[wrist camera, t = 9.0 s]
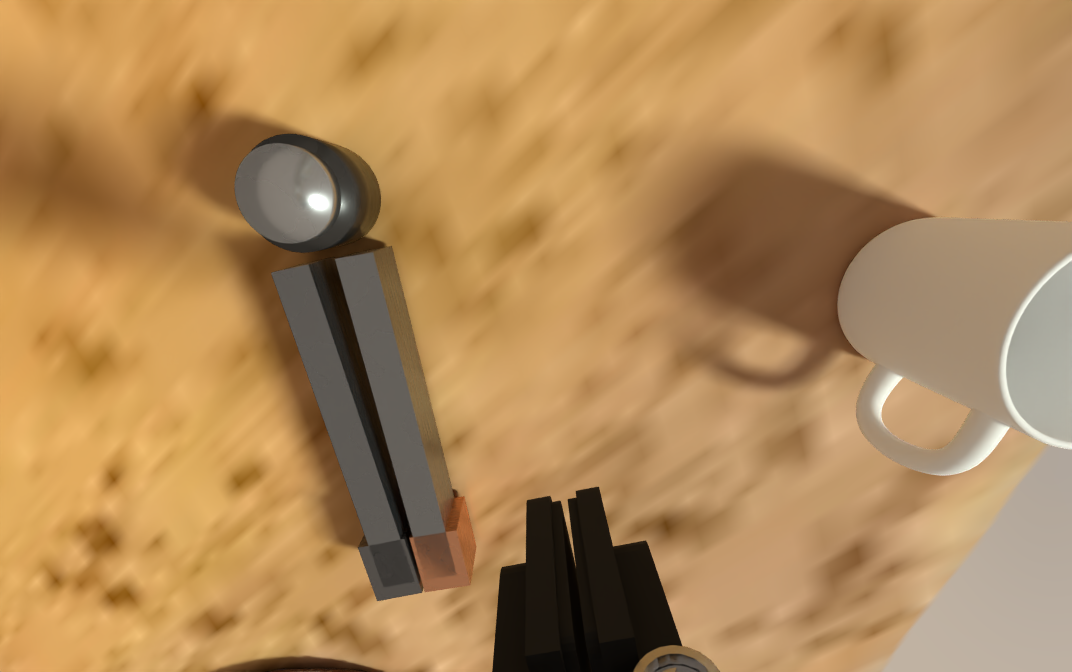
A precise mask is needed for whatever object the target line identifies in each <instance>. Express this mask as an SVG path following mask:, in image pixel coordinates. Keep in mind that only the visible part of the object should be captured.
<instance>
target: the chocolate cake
mask: <svg viewBox="0 0 1072 672" xmlns="http://www.w3.org/2000/svg"><path fill="white" fill-rule="evenodd" d="M267 672H366V671H363V670H346V669H277V670H272V671H267Z"/></svg>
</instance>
